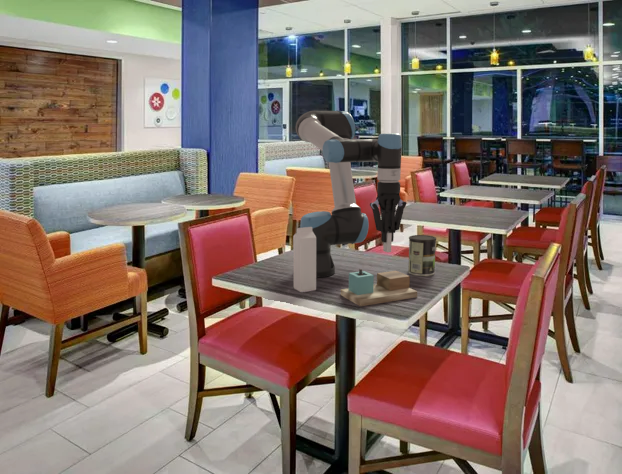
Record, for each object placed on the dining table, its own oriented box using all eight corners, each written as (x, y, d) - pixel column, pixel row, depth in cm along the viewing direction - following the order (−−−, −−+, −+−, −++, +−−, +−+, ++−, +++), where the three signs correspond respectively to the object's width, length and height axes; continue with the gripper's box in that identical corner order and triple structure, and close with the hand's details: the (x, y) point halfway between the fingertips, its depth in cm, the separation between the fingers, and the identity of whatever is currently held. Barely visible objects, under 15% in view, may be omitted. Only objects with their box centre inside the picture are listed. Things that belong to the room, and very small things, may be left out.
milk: (293, 288, 192) (292, 226, 188) (308, 285, 195) (308, 225, 191) (301, 292, 187) (300, 229, 183) (316, 290, 190) (316, 227, 185)
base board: (340, 295, 184) (340, 267, 182) (395, 286, 194) (395, 260, 192) (360, 306, 173) (360, 277, 171) (417, 297, 182) (418, 269, 180)
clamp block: (376, 284, 189) (377, 273, 188) (396, 281, 193) (396, 270, 192) (389, 290, 182) (390, 279, 181) (409, 287, 186) (409, 276, 185)
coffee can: (434, 270, 216) (436, 235, 213) (434, 277, 206) (436, 240, 203) (408, 268, 218) (409, 234, 215) (407, 275, 208) (408, 239, 205)
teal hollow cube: (348, 290, 183) (348, 272, 182) (363, 287, 185) (364, 270, 184) (357, 295, 178) (358, 277, 176) (373, 292, 180) (373, 275, 179)
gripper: (376, 183, 173) (375, 255, 177) (412, 181, 178) (409, 252, 182) (365, 181, 180) (364, 250, 184) (400, 179, 184) (398, 247, 189)
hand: (387, 251), depth 183 cm, fingers closed
